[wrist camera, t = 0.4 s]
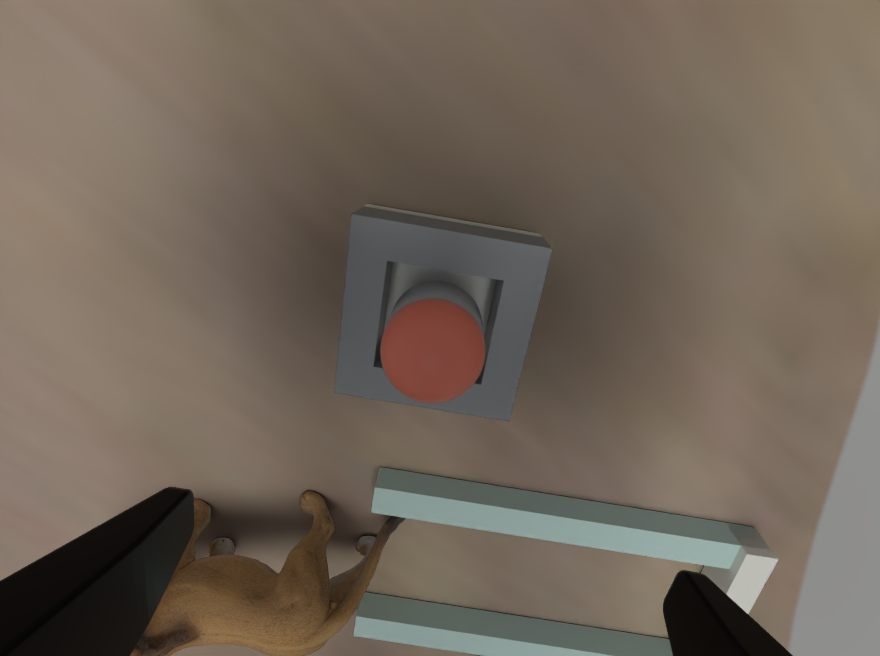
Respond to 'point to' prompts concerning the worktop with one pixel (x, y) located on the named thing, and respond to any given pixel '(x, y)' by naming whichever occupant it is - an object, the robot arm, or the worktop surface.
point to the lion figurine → (261, 593)
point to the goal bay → (560, 520)
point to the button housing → (449, 260)
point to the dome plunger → (433, 342)
